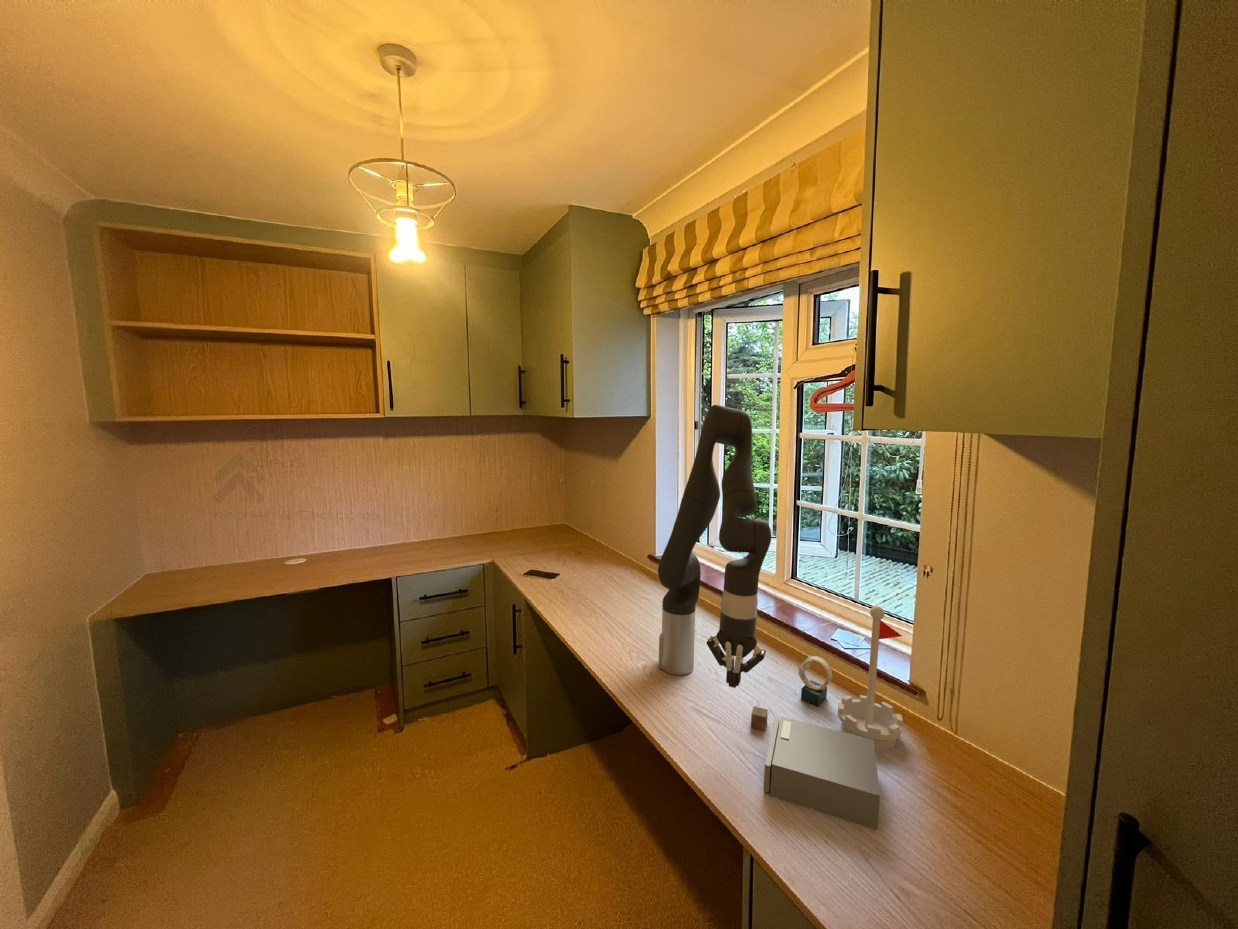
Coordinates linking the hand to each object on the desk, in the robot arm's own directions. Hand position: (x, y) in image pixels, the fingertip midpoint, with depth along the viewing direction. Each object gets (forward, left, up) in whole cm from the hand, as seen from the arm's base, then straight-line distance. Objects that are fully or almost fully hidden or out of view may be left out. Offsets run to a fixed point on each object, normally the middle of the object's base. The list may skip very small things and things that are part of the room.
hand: (732, 685), depth 107 cm
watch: (+16, +25, -13) cm, 32 cm away
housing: (+19, -5, -13) cm, 23 cm away
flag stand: (+28, +16, -13) cm, 35 cm away
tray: (+18, -5, -13) cm, 22 cm away
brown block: (+5, +8, -13) cm, 16 cm away
